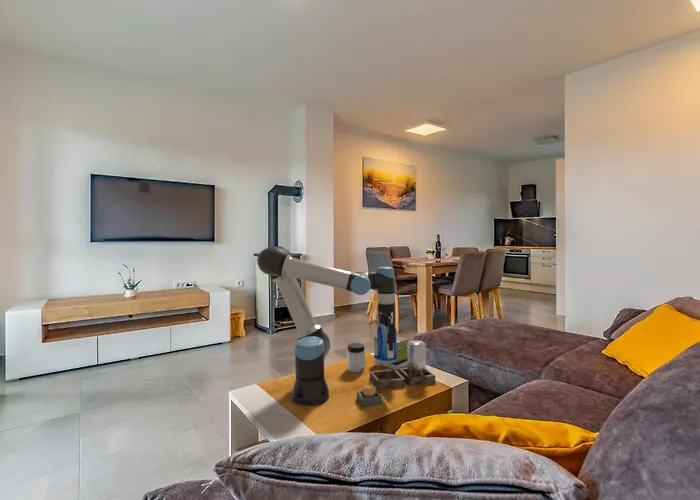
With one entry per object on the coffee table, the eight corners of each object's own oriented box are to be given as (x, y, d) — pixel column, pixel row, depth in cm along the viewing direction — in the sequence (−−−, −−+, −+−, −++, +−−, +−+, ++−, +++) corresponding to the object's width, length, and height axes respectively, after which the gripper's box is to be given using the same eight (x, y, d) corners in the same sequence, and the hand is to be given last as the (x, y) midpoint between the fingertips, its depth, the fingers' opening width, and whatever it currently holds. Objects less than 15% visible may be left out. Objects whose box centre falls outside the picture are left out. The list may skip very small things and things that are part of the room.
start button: (364, 398, 139) (364, 390, 139) (361, 393, 144) (360, 385, 144) (377, 397, 140) (377, 389, 140) (373, 391, 145) (373, 384, 145)
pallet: (379, 393, 149) (379, 382, 148) (369, 380, 162) (369, 371, 162) (436, 386, 155) (436, 376, 155) (422, 374, 168) (422, 365, 168)
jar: (366, 371, 173) (366, 347, 173) (350, 373, 172) (349, 348, 171) (362, 365, 182) (361, 342, 182) (346, 367, 180) (345, 343, 180)
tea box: (373, 365, 182) (373, 336, 182) (386, 360, 189) (386, 332, 189) (396, 373, 171) (395, 342, 171) (409, 367, 178) (409, 338, 177)
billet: (412, 383, 155) (411, 346, 155) (404, 376, 163) (404, 341, 163) (428, 381, 157) (428, 344, 157) (421, 374, 165) (420, 339, 165)
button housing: (362, 407, 137) (362, 399, 137) (356, 398, 145) (356, 390, 145) (382, 404, 139) (382, 396, 139) (375, 395, 147) (375, 388, 147)
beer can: (396, 364, 151) (395, 327, 151) (376, 363, 153) (375, 326, 152) (397, 358, 159) (397, 322, 159) (378, 357, 161) (378, 321, 161)
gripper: (403, 306, 147) (404, 361, 147) (386, 298, 167) (387, 347, 167) (386, 307, 145) (386, 363, 146) (370, 299, 165) (371, 348, 166)
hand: (387, 354), depth 156 cm, fingers closed on beer can, 8 cm apart
